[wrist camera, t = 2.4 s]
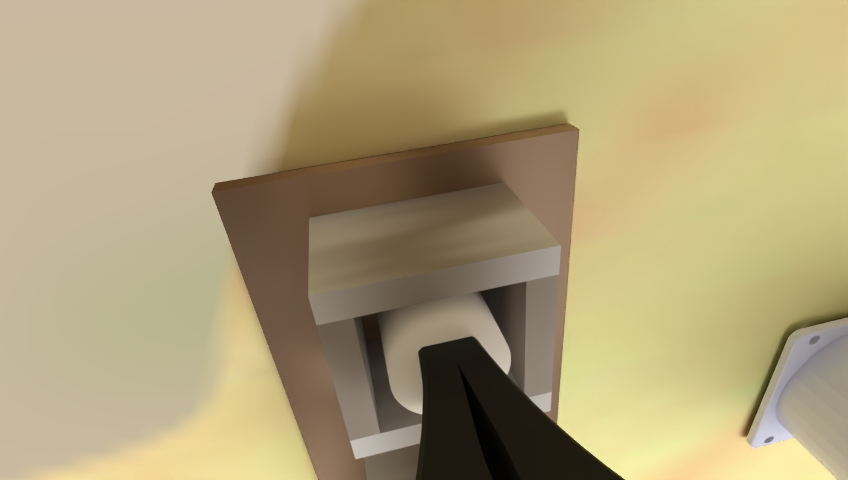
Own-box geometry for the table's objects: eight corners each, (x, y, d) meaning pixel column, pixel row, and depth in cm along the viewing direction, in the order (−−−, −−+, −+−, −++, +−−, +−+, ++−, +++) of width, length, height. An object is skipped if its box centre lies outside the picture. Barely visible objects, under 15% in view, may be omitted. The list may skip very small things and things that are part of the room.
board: (568, 123, 14) (660, 178, 10) (542, 544, 26) (578, 635, 22) (215, 183, 12) (176, 269, 9) (365, 594, 25) (373, 699, 21)
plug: (468, 238, 13) (511, 311, 11) (473, 317, 15) (511, 399, 12) (365, 258, 13) (381, 339, 10) (381, 337, 15) (398, 427, 12)
